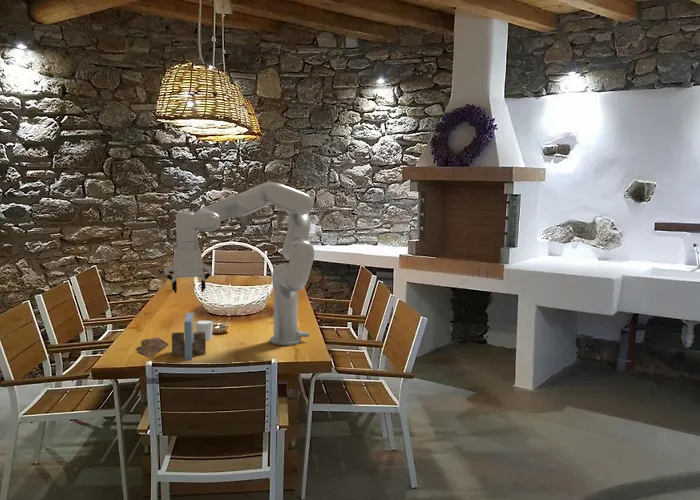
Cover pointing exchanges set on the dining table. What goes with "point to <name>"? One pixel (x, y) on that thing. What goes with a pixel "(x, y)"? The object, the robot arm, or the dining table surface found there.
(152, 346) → the wooden fragment
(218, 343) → the dining table surface
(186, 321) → the blue-grey notched panel
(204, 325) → the white topped beige cylinder
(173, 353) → the wood grain block
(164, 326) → the dining table surface
